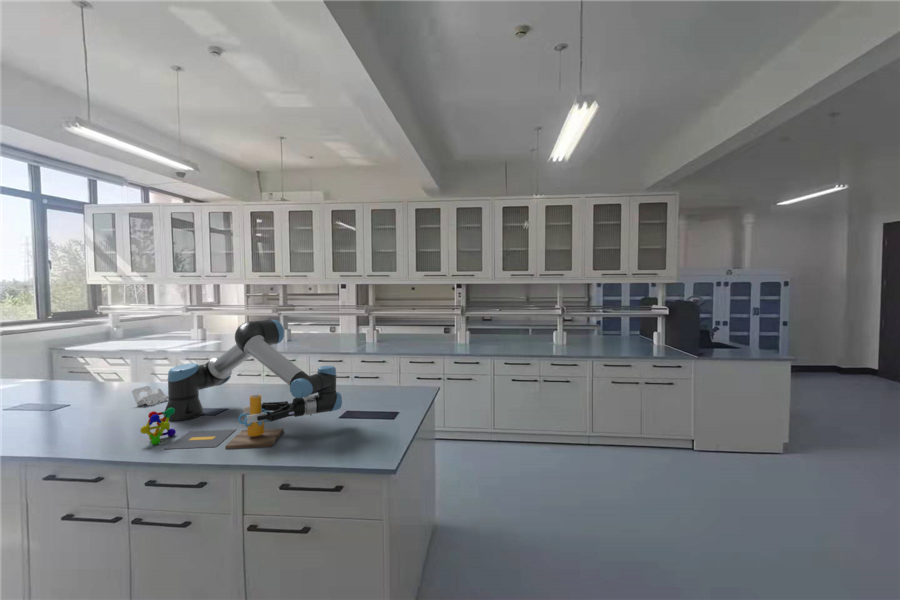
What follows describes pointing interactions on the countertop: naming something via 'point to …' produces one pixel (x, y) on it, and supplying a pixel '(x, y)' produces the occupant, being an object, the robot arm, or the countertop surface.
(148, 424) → the molecular model
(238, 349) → the robot arm
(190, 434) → the mat
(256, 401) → the cylinder
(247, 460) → the countertop surface
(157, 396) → the mounting bracket
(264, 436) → the board
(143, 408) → the countertop surface
